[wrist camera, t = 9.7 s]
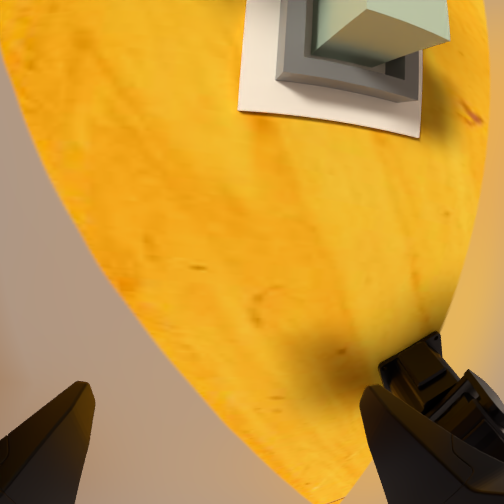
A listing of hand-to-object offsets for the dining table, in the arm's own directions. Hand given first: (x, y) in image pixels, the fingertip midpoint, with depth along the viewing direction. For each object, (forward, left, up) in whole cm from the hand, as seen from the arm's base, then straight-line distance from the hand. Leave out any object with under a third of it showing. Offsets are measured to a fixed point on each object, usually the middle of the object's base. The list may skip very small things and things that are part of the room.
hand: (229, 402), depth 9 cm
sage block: (+10, -13, -12) cm, 20 cm away
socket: (+10, -13, -12) cm, 20 cm away
